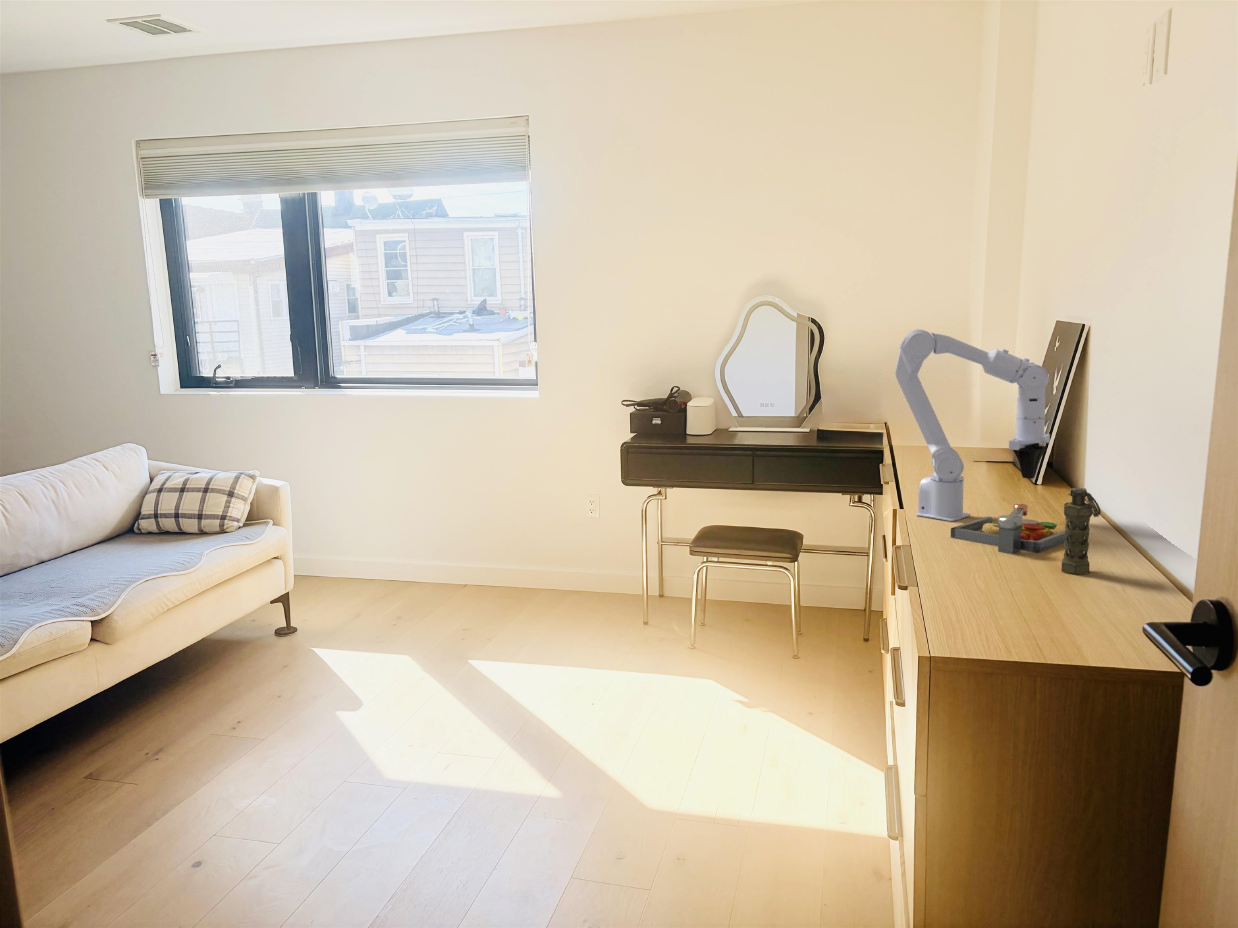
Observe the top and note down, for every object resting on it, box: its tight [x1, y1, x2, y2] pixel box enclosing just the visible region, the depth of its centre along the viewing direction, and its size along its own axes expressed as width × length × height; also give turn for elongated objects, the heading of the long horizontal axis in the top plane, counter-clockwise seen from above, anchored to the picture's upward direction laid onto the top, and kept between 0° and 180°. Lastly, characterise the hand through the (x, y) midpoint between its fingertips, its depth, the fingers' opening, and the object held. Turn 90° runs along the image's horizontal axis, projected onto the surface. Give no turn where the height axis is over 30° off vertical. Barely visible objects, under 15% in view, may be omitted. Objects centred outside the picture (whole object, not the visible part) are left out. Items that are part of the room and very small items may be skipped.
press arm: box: [997, 503, 1028, 529], centre depth 173 cm, size 16×4×2 cm, turn 147°
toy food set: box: [981, 518, 1058, 541], centre depth 179 cm, size 13×13×3 cm
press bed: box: [950, 516, 1069, 555], centre depth 177 cm, size 18×18×5 cm
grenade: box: [1061, 487, 1102, 575], centre depth 154 cm, size 9×6×15 cm, turn 153°
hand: (1028, 477), depth 194 cm, fingers closed
